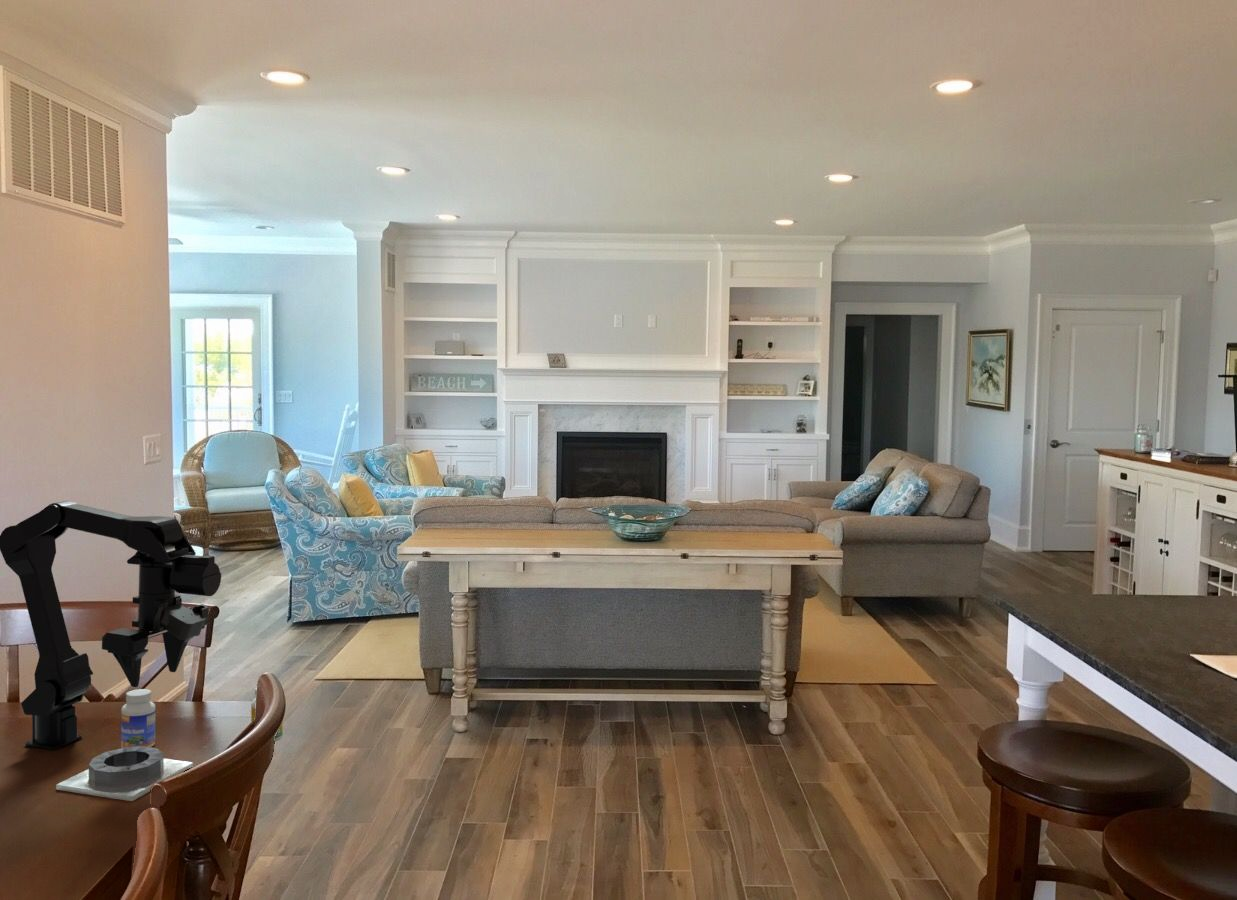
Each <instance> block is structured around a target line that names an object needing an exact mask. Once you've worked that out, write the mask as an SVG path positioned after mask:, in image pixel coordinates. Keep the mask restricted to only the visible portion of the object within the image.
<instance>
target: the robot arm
mask: <svg viewBox="0 0 1237 900" xmlns="http://www.w3.org/2000/svg"><path fill="white" fill-rule="evenodd" d="M68 529H71V530H76V531H81V532H84V533H89V534H94V535H98V536H103V537H106V538H110V539H115V540H118V541H119V542H120V541H121V542H122V543H123V544H125V545H126V546H127V547H128V548H129V549H132V550H135V551H136V552H135V553H134V555H132V556H131V557H130V558H128V559H127V560H126V562H127V564H128V565H137V566H138V595H136V596H133V597H132V604H136V605H137V619H133V620H131V627H133V628H138V629H133V628H125V627H121V628H116V629H114V630H110V631H108V632H106V633H105V634H104V635H102V636H101V650H105V651H107V653H110V654H112V655H113V656H114V658H115V660H116V661H117V663H118V664H119V666H120V667H121V669H122V671H123V673H124V675H125V677H126V679H127V680H128V683H129V685H130V686H131V687H132V688H137V687H139V685H140V680H141V679H140V678H141V671H142V670H141V668H142V659H143V657H144V656H145V655H146V654H147V653H148V652H149V649H146V647H147V645H148V644H149V639H151V638H154V637H158V636H159V635H162V640H163V646H164V651H165V656H166V663H167V667H168V671H169V672H170V673H175V672H177V670H178V667H179V664H180V662H181V660H182V657H183V653H184V651H185V649H186V647H187V645H188V643H189V642H190V641H191V640H192V639H194V637H198V636H200V634H201V632H202V630H203V629H205V627H206V626H208V625H209V623H210V621H209V619H210V612H209V611H210V609H209V606H207V605H205V604H203V603H200V604H197V605H195V606H194V607H191V606H188V607H186V606H183V604H182V601H183V599H182V597H181V595H182V594H185V595H193V596H194V595H195V596H203V597H212V596H214V595H216V593H217V591H219V588H220V586H221V581H222V573H221V571H220V569H221V568H220V567H219V565H218V563H216V560H215V559H216V557H215V556H214V555H197V554H196V551H195V549H194V548H193V546H192V544H191V543H190V541H189V540H188V539H187V536H186V535H185V534H184V532H183V528H182V525H181V524H180V521H179V520H177V518H174V517H172V516H162V515H161V516H159V515H158V516H157V515H151V516H149V515H148V516H133V515H129V514H128V515H127V514H125V513H124V514H123V513H120V512H119V513H118V512H113V511H111V510H110V511H109V510H106V509H101V508H97V507H92V506H88V505H83V504H80V503H77V502H74V501H72V500H65V501H64V500H63V501H58V502H52V503H49V504H48V505H47V506H46V507H44V508H43V509H42V510H40V511H39V512H37V513H35V514H33V515H31V516H29V517H28V518H25V519H24V520H22V521H20V522H19V523H17V524H14V525H10V526H7V527H5V528H4V529H3V530H2V531H1V533H0V553H1V556H2V558H3V560H4V562H5V564H6V565H7V566H8V567H9V568H10V570H12V572H14V573H15V574H16V576H18V578H19V580H20V585H21V588H22V592H23V595H24V600H25V604H26V609H27V611H28V612H27V613H28V616H29V620H30V623H31V624H30V625H31V627H32V631H33V632H32V633H33V636H34V639H35V644H36V647H37V650H38V651H37V652H38V661H37V664H36V667H35V671H34V675H33V676H34V685H35V688H34V689H33V691H32V692H31V693H30V694H29V695H28V696H26V698H24V700H23V701H21V708H22V710H23V714H24V715H27V716H28V715H29V716H31V724H32V726H31V727H32V728H31V730H32V735H31V736H32V737H31V738H32V739H30V740H27V741H25V742H24V746H26V747H33V748H40V749H48V750H56V749H59V748H61V747H63V746H66V745H68V744H70V743H72V742H76V741H77V740H79V739H82V738H83V734H82V733H78V716H77V715H76V706H74V705H75V704H77V703H80V702H82V701H83V698H84V696H85V693H86V692H87V691H88V689H89V687H90V686H91V684H92V677H91V676H92V675H94V671H93V670H92V669H91V667H90V661H89V656H88V654H87V653H86V652H84V653H82V654H79V653H78V652H77V651H76V650H75V649H74V648H73V647H72V645H71V641H70V637H69V633H68V630H67V625H66V622H65V617H64V614H63V610H62V607H61V602H60V598H59V595H58V590H57V586H56V583H55V579H54V575H53V569H52V568H53V564H54V561H55V557H56V554H57V546H56V540H57V539H59V538H60V537H61V536H63V535H65V533H66V531H67V530H68ZM173 549H174V550H173ZM176 593H177V594H176ZM178 594H181V595H178Z"/></svg>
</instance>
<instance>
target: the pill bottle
mask: <svg viewBox="0 0 1237 900" xmlns="http://www.w3.org/2000/svg"><path fill="white" fill-rule="evenodd" d="M151 700H152V690H150V689H148V688H147V689H146V688H145V689H144V688H139V689H138V688H137V689H133V690H130V691H127V692H126V694H125V701H126V703H125V704H123V706H121V711H120V712H121V713H120V714H121V717H120V719H121V720H120V721H121V722H120V725H121V726H120V733H121V734H120V747H121V748H125V747H140V746H144V747H151V748H153V747H154V745H155V742H156V704H155V703H154V702H152V701H151Z"/></svg>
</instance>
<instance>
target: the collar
mask: <svg viewBox="0 0 1237 900" xmlns="http://www.w3.org/2000/svg"><path fill="white" fill-rule="evenodd" d="M164 755H165V754H164V752H163V751H161V749H159V748H157V747H144V746H140V747H125V748H117V749H113V750H108V751H105V752H103V753H101V754H98V755H97V756H94V757H92V759H91V760H90V762H89V763H88V769H86V770H84V771H81V772H80V773H78V774H76V775H73V776H70V777H68V778H66V779H65V780H63V781H61V782H59V783H57V784H56V786H55V787H56V788H55V789H56V790H57V791H62V792H63V791H64V792H70V793H77V794H83V795H89V796H94V797H102V798H108V799H115V800H121V801H126V802H133V801H136V800H137V799H138V798H139V799H140V797H143V796H144V795H146V794H148V793H149V792H151V791H150V788H151V786H152V785H153V784H154V783H155V782H159V781H162V780H164V779H166V778H169V777H171V776H173V775H176V774H178V773H181V772H183V771H185V770H187V769H189V768H190V769H192V768H193V767H194V762H191V761H185V760H177V759H171V758H165V757H164ZM191 767H192V768H191ZM190 769H189V770H190ZM187 771H188V770H187ZM185 772H186V771H185ZM183 773H184V772H183Z"/></svg>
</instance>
